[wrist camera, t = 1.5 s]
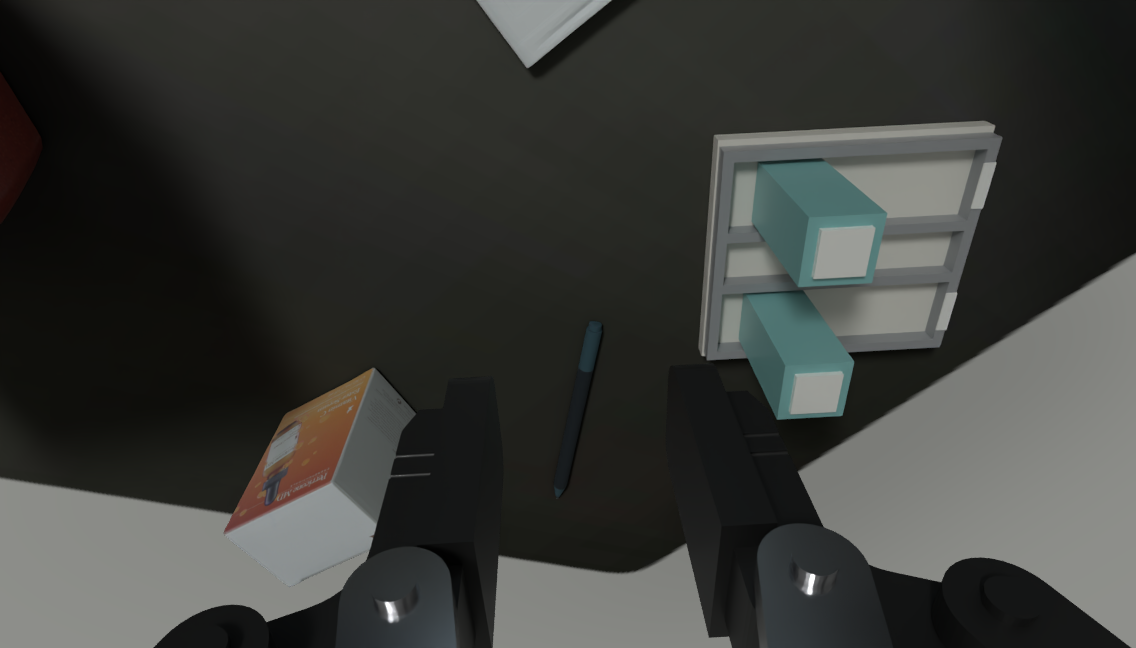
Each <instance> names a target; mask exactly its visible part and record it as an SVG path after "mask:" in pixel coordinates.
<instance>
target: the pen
mask: <svg viewBox="0 0 1136 648" xmlns="http://www.w3.org/2000/svg"><path fill="white" fill-rule="evenodd" d="M601 328H602V324H601V323H600V322H596V321H590V322H589V327H587V329H586V334H585V339H584V343H583V348H582V353H581V357H580V362H579V367H578V371H577V376H576V381H575V385H574V390H573V395H572V399H571V404H570V409H569V413H568V418H567V423H566V427H565V432H564V437H563V442H562V446H561V451H560V456H559V460H558V465H557V470H556V474H555V479H554V489H555V495H556V498H558V497H559V496H560V495H561V494H562V492H563V491H564V489H565V488H566V486H567V483H568V478H569V474H570V470H571V465H572V461H573V456H574V452H575V448H576V443H577V439H578V435H579V430H580V426H581V421H582V417H583V413H584V408H585V404H586V400H587V395H588V391H589V386H590V382H591V378H592V373H593V369H594V365H595V360H596V356H597V351H598V347H599V343H600V338H601V334H602V329H601Z"/></svg>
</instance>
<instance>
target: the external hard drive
mask: <svg viewBox="0 0 1136 648" xmlns="http://www.w3.org/2000/svg"><path fill="white" fill-rule="evenodd" d="M476 1H477V2H478V3H479V5H480V6H481V7H482V9H483V10H484V11H485V13H486V14H487V15H488V17H489V18H490V19H491V21H492V22H493V23H494V25H495V26H496V27H497V29H498V30H499V31H500V33H501V34H502V35H503V37H504V38H505V39H506V41H507V42H508V43H509V45H510V46H511V47H512V49H513V50H514V51H515V53H516V54H517V55H518V57H519V58H520V60H521V61H522V62H523V63H524V65H525V66H526V68H529V67H531V66H532V65H533V64H535V63H536V62H537V61H538V60H539V59H541V58H542V57H543V56H544V55H545V54H547V53H548V52H549V51H550V50H551V49H553V48H554V47H555V46H556V45H558V44H559V43H560V42H561V41H562V40H564V39H565V38H566V37H567V36H569V35H570V34H571V33H572V32H573V31H575V30H576V29H577V28H578V27H580V26H581V25H582V24H583V23H584V22H586V21H587V20H588V19H589V18H591V17H592V16H593V15H594V14H596V13H597V12H598V11H599V10H600V9H602V8H603V7H604V6H605V5H607V4H608V3H609V2H610V1H611V0H476Z"/></svg>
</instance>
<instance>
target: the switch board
mask: <svg viewBox="0 0 1136 648" xmlns="http://www.w3.org/2000/svg"><path fill="white" fill-rule="evenodd" d="M994 128H995V125H993V124H991V123H989V122H986V121H970V122H951V123H933V124H914V125H895V126H876V127H857V128H838V129H819V130H800V131H781V132H763V133H744V134H725V135H714V141H713V155H712V169H711V183H710V196H709V210H708V224H707V238H706V252H705V265H704V279H703V293H702V307H701V321H700V334H699V350H700V353H701V355H702V356H706V359H707V360H721V359H739V358H747V356H746V354H745V351H744V349H743V347H742V345H741V343H740V341H739V339H738V338H739V329H740V320H741V310H742V301H743V293H759V292H777V291H795V290H803V291H804V292H805V294H806V295H807V296H808V298H809V299H810V301H811V302H812V303H813V305H814V306H815V308H816V309H817V310H818V312H819V313H820V315H821V316H822V317H823V319H824V320H825V322H826V323H827V324H828V326H829V327H830V329H831V330H832V331H833V333H834V334H835V336H836V337H837V338H838V340H839V341H840V342H841V344H842V345H843V347H844V348H845V349H846V351H847V352H863V351H880V350H898V349H916V348H933V347H940V345H941V341H942V338H943V335H944V331H945V330H946V329H947V326H948V323H949V319H950V316H951V313H952V309H953V306H954V303H955V299H956V296H957V292H956V291H957V288H958V285H959V281H960V278H961V275H962V271H963V268H964V265H965V261H966V258H967V255H968V251H969V248H970V245H971V241H972V238H973V235H974V231H975V228H976V225H977V221H978V218H979V214H980V211H981V209H982V208H983V206H984V203H985V200H986V196H987V193H988V190H989V186H990V183H991V180H992V176H993V173H994V170H995V166H996V162H995V161H996V158H997V154H998V151H999V148H1000V144H1001V141H1002V138H1003V137H1001V136H999V135H997V134H995V133H993V132H994ZM812 158H822V159H824V160H825V161H826V162H827V163H828V164H829V165H831V166H832V167H833V168H834V169H835V170H837V171H838V172H839V173H840V174H841V175H843V176H844V177H845V178H846V179H847V180H849V181H850V182H851V183H852V184H853V185H855V186H856V187H857V188H858V189H859V190H860V191H862V192H863V193H864V194H865V195H866V196H868V197H869V198H870V199H871V200H872V201H874V202H875V203H876V204H877V205H878V206H880V207H881V208H882V209H883V210H884V211H886V212H887V218H886V222H885V227H884V231H883V236H882V240H881V245H880V249H879V254H878V258H877V263H876V267H875V272H874V276H873V281H872V283H865V284H847V285H829V286H811V287H798V286H797V285H796V284H795V282H794V281H793V279H792V278H791V277H790V275H789V274H788V272H787V271H786V269H785V268H784V267H783V265H782V264H781V262H780V261H779V260H778V258H777V257H776V255H775V254H774V253H773V251H772V250H771V248H770V247H769V245H768V244H767V243H766V241H765V240H764V238H763V237H762V236H761V234H760V233H759V231H758V230H757V228H756V227H755V226H754V224H753V223H752V221H751V220H752V211H753V202H754V193H755V184H756V175H757V165H758V161H775V160H794V159H812Z"/></svg>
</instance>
